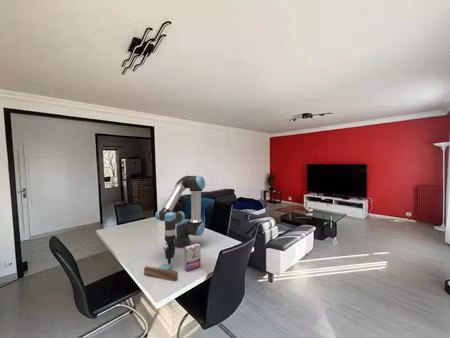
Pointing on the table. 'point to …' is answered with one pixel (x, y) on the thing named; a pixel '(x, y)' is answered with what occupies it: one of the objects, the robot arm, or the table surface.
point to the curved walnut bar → (161, 273)
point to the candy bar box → (191, 257)
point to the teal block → (166, 267)
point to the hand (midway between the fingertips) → (170, 266)
